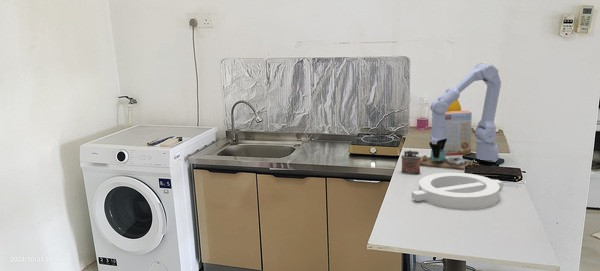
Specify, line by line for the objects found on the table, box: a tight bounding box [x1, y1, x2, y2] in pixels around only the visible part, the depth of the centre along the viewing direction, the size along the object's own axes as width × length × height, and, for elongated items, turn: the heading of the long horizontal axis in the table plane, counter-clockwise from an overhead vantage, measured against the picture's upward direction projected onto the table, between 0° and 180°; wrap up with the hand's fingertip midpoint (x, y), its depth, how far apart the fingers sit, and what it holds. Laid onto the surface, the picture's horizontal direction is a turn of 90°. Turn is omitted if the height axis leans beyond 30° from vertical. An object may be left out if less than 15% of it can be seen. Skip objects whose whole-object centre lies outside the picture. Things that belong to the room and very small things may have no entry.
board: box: [420, 154, 472, 171], centre depth 210 cm, size 23×12×4 cm, turn 59°
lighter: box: [400, 149, 421, 175], centre depth 199 cm, size 8×3×10 cm, turn 62°
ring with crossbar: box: [411, 172, 504, 210], centre depth 170 cm, size 28×28×5 cm
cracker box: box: [443, 110, 473, 156], centre depth 224 cm, size 14×6×21 cm, turn 84°
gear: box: [430, 149, 447, 161], centre depth 210 cm, size 6×6×4 cm
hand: (438, 156), depth 210 cm, fingers closed on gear, 5 cm apart
